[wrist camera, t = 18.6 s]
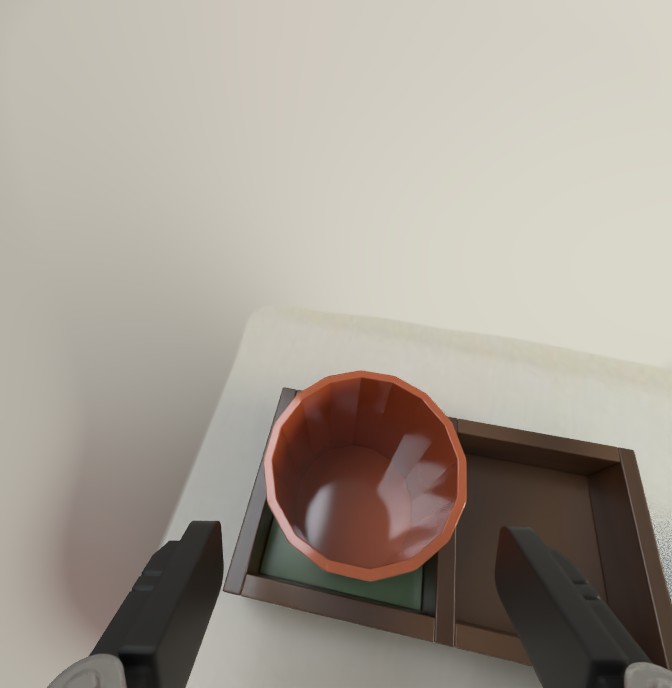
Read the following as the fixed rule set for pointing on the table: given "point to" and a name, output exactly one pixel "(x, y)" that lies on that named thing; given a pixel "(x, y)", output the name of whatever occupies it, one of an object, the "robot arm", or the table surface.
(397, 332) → the table surface
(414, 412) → the cup
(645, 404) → the table surface
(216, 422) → the table surface
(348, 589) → the holder
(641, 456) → the table surface
